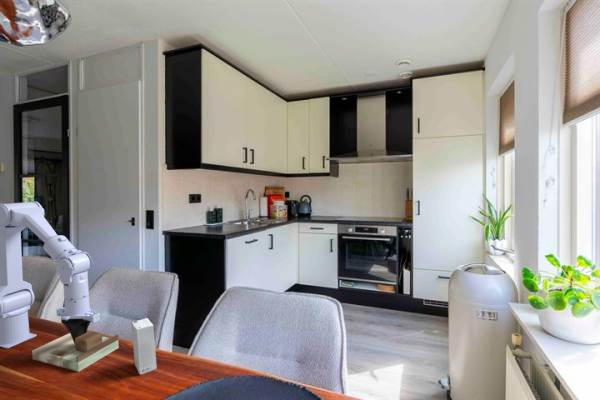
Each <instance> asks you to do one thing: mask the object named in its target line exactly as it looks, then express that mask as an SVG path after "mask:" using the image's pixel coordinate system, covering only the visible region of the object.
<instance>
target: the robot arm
mask: <svg viewBox="0 0 600 400" xmlns="http://www.w3.org/2000/svg"><path fill="white" fill-rule="evenodd" d="M25 228H28V229H29V230H30V231H31V232H32V233H34V235H36V236H37V237H38V238H39V239H40V240H41V241H42V242H44V245H43V250H44V251H45V252H46V253H47V254H48V255H49V256H50V257H51V259H52V260H53V261H54V262H55V263H56V265H57V266H56V267H55V268H56V272H57V274H58V275H59V278H60V279H59V280H60V282H61V284H62V286H63V300H64V306H62V307H59V308H57V309H56V316H57V317H61V320H63V322H62V324H63V326H65V327H66V329H67V330H68V332H69V333H70V334H71V336H72V339H73V341H74V344H75V338H77V337H79V336H81V335H83V334H85V333H87V332H88V328H89V326H90V324H93V323H96V322H99V321H100V320H101V315H100V312H97V311H95V310H94V309H92V308H91V307H90V291H89V275H88V274H89V273H88V272H89V271H90V270H91V269H92V267H93V260H92V257H91V255H90V254H89V253H88V252H86V251H82V250H80V249H79V250H78V249H77V248H76V247H75V246H74V245H73V244H72V243H71V242H70V240H69V239H68V238H67V237H66V236H65V235H58V234H57V233H56V231H55V230H54V229H53V227H52V226H51V224H50V223H49V222H48V220H47V219H46V218H45V209H44V208H43V206H42V205H41V204H40V202H38V201H36V200H35V201H29V202H27V201H26V202H25V201H24V202H14V203H11V202H10V203H0V347H1V348H3V349H10V348H12V347H15V346H16V345H19V344H21V343H23V342H26V341H28V340H31V339H33V338H35V337H37V336H38V335H37V334H35V333H32V332H30V325H29V323H30V322H29V310H30V309H31V306H32V305H33V304H34V302H35V294H34V291H33V286H32V284H31V283H30V282H28V281H25V280H24V278H23V276H24V275H23V258H22V257H23V255H22V238H21V236H22V233H21V232H22V231H23V230H25Z"/></svg>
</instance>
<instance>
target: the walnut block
mask: <svg viewBox="0 0 600 400" xmlns="http://www.w3.org/2000/svg"><path fill="white" fill-rule="evenodd" d="M102 336H103V333H102V332H97V331H93V330H89V331H87V332H86V333H85V334H83V335H81V336H79V337H77V338H75V348H76V351H80V352H86V351H88V350H89V349H91V348H93V347H95V346H97V345H99V344H100V343H102Z"/></svg>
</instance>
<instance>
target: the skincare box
mask: <svg viewBox="0 0 600 400" xmlns="http://www.w3.org/2000/svg"><path fill="white" fill-rule="evenodd" d="M131 335H132V344H133V347H132V348H133V358H134V366H135V368H136V370H137V372H138V374H139V375H144V374H147V373H149V372H152V371H155V370H157V357H156V342H155V330H154V324H153V323H152V322H151V321H150V320H149V318H148V317H146V318H141V319H138V320H135V321H132V322H131Z"/></svg>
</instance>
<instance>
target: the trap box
mask: <svg viewBox="0 0 600 400" xmlns="http://www.w3.org/2000/svg"><path fill="white" fill-rule="evenodd" d="M117 349H120V347H119V335H118V334H115V335H113V336H112V337H107V336H103V335H102V343H100V344H99V345H97V346H95V347H93V348H91V349H89V350H88V351H86V352H80V351H76V348H75V344H74V341H73V339H72V336H71V334H70V332H69V333H67V334H65V335H63V336H61V337H59V338H56V339H54V340H52V341H50V342H48V343H45V344H44V345H41V346H39V347H37V348H35V349H32V350H31V352H32V353H31V354H32V360H33V361H35V360H36V361H38V362H42V363H46V364H49V365H53V366H56V367H60V368H64V369H67V370H71V371H75V372H81V371H82V370H84V369H86V368H88V367H90V366H91V365H92V364H94V363H95V362H97V361H99V360H101V359H103V358H105V356H107V355H109V354H110V353H112V352H114V351H116V350H117Z"/></svg>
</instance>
